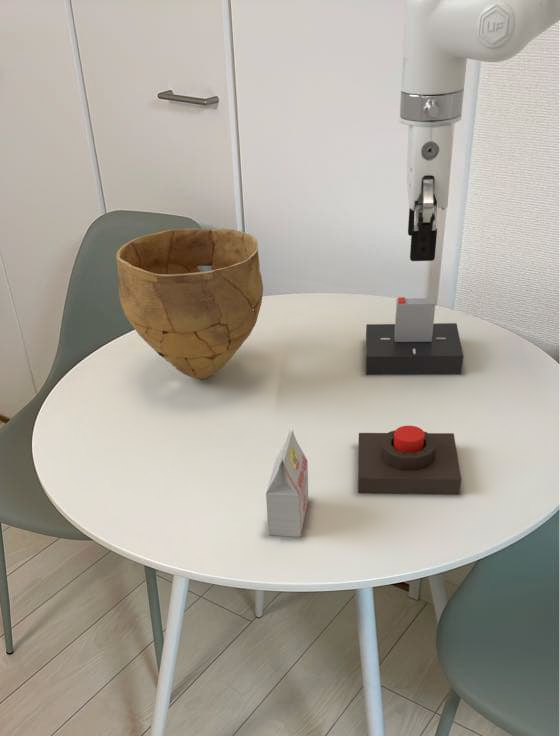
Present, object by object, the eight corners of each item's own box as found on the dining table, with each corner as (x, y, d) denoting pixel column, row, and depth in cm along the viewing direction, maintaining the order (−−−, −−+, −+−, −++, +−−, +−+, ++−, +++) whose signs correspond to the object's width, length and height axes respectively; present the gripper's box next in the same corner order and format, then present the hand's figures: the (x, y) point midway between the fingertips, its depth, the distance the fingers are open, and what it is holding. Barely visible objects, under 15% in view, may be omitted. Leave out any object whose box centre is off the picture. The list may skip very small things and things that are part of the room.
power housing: (451, 447, 97) (455, 420, 95) (459, 494, 90) (463, 466, 87) (358, 446, 99) (359, 420, 96) (357, 492, 91) (358, 465, 89)
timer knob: (430, 335, 115) (434, 296, 111) (431, 341, 113) (435, 301, 109) (394, 336, 116) (396, 297, 112) (394, 342, 114) (397, 302, 110)
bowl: (116, 368, 120) (91, 241, 107) (229, 335, 126) (218, 211, 113) (168, 426, 105) (146, 287, 93) (293, 385, 112) (288, 250, 99)
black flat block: (454, 340, 120) (456, 322, 118) (461, 374, 112) (463, 354, 109) (365, 341, 122) (366, 323, 119) (365, 374, 113) (366, 355, 111)
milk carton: (268, 534, 86) (263, 462, 80) (278, 499, 91) (274, 428, 85) (300, 537, 86) (298, 464, 79) (308, 501, 91) (306, 430, 84)
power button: (422, 437, 93) (423, 425, 92) (424, 453, 90) (425, 441, 89) (393, 437, 93) (393, 425, 92) (393, 453, 91) (394, 441, 90)
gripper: (468, 121, 85) (453, 270, 97) (456, 90, 98) (444, 225, 110) (401, 124, 87) (393, 271, 98) (398, 93, 99) (392, 226, 111)
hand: (420, 247), depth 104 cm, fingers open, 9 cm apart
